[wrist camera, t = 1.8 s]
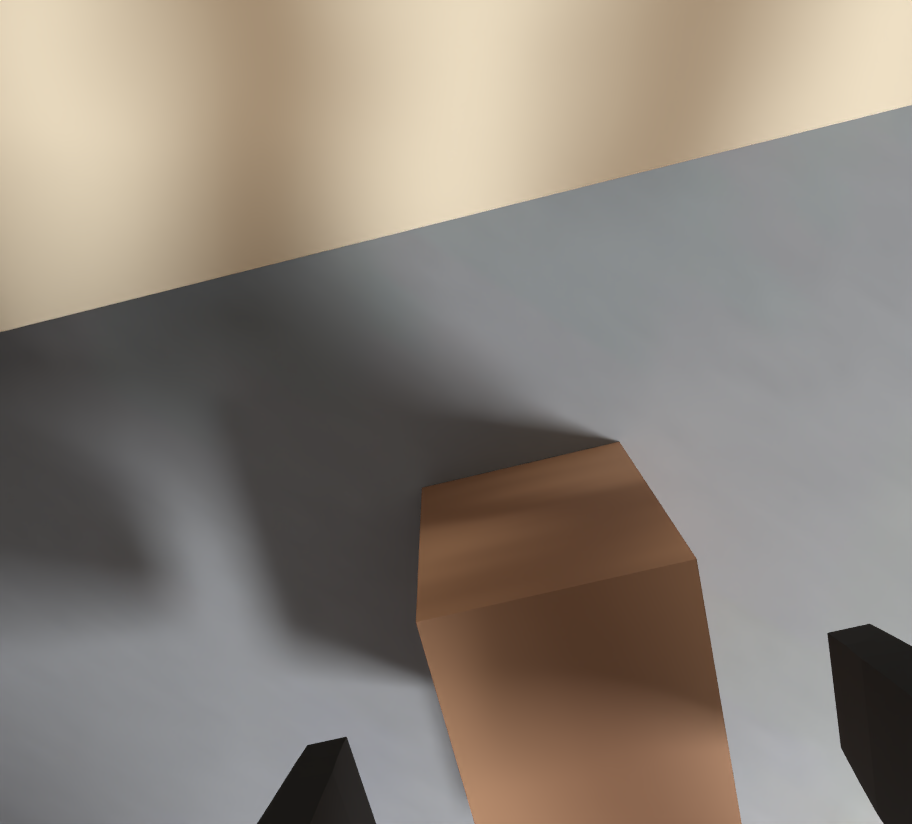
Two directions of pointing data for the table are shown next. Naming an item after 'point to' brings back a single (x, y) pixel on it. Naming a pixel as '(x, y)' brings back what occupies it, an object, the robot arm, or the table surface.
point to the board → (376, 119)
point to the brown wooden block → (571, 647)
